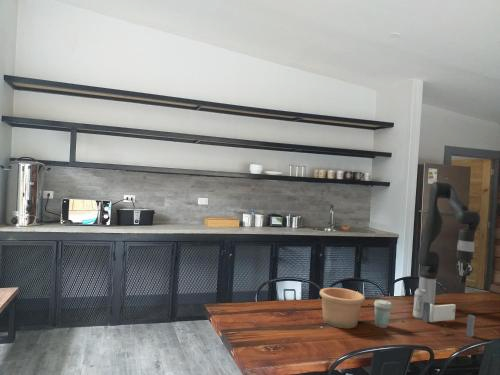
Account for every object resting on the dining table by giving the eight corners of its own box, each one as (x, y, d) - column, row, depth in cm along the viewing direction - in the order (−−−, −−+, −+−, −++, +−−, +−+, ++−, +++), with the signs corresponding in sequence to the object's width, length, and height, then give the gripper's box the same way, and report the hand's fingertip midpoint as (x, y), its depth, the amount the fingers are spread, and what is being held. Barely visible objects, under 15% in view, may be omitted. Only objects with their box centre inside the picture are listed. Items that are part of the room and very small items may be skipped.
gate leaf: (430, 322, 197) (432, 305, 197) (427, 320, 199) (429, 303, 199) (455, 319, 204) (456, 303, 204) (451, 318, 206) (453, 302, 206)
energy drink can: (427, 319, 204) (429, 291, 204) (417, 319, 203) (419, 291, 203) (420, 315, 210) (422, 288, 210) (410, 315, 209) (412, 288, 209)
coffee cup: (381, 330, 183) (383, 305, 183) (368, 323, 191) (370, 299, 190) (394, 328, 187) (396, 303, 187) (380, 321, 195) (382, 298, 194)
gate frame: (422, 321, 200) (423, 302, 200) (424, 320, 202) (425, 302, 202) (471, 337, 182) (473, 316, 182) (473, 336, 184) (475, 316, 184)
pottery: (314, 324, 183) (316, 295, 183) (321, 311, 204) (323, 285, 203) (360, 334, 175) (363, 303, 175) (363, 319, 196) (365, 292, 196)
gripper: (480, 252, 188) (477, 287, 188) (465, 248, 201) (462, 280, 201) (465, 251, 188) (462, 286, 188) (451, 246, 201) (448, 279, 201)
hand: (462, 283), depth 195 cm, fingers closed
